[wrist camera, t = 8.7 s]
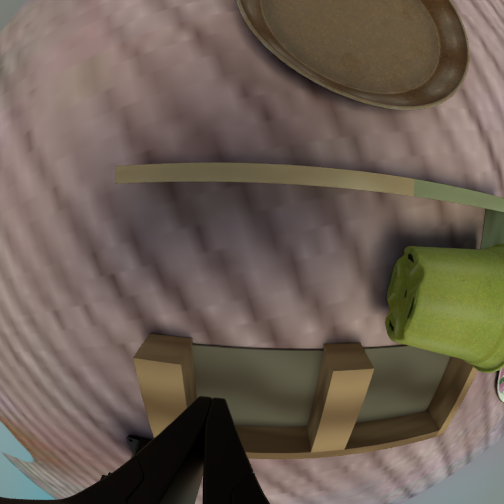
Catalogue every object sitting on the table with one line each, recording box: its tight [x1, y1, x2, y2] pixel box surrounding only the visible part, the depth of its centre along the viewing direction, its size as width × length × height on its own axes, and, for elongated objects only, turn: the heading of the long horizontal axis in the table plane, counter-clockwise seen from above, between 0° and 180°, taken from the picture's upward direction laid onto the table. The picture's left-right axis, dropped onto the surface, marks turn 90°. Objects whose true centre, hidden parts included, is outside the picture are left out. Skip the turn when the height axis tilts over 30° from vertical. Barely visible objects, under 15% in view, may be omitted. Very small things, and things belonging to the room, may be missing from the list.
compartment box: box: [116, 163, 504, 459], centre depth 17 cm, size 23×28×6 cm
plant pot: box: [385, 243, 504, 373], centre depth 15 cm, size 9×9×9 cm
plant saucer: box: [236, 0, 470, 110], centre depth 13 cm, size 18×18×3 cm
